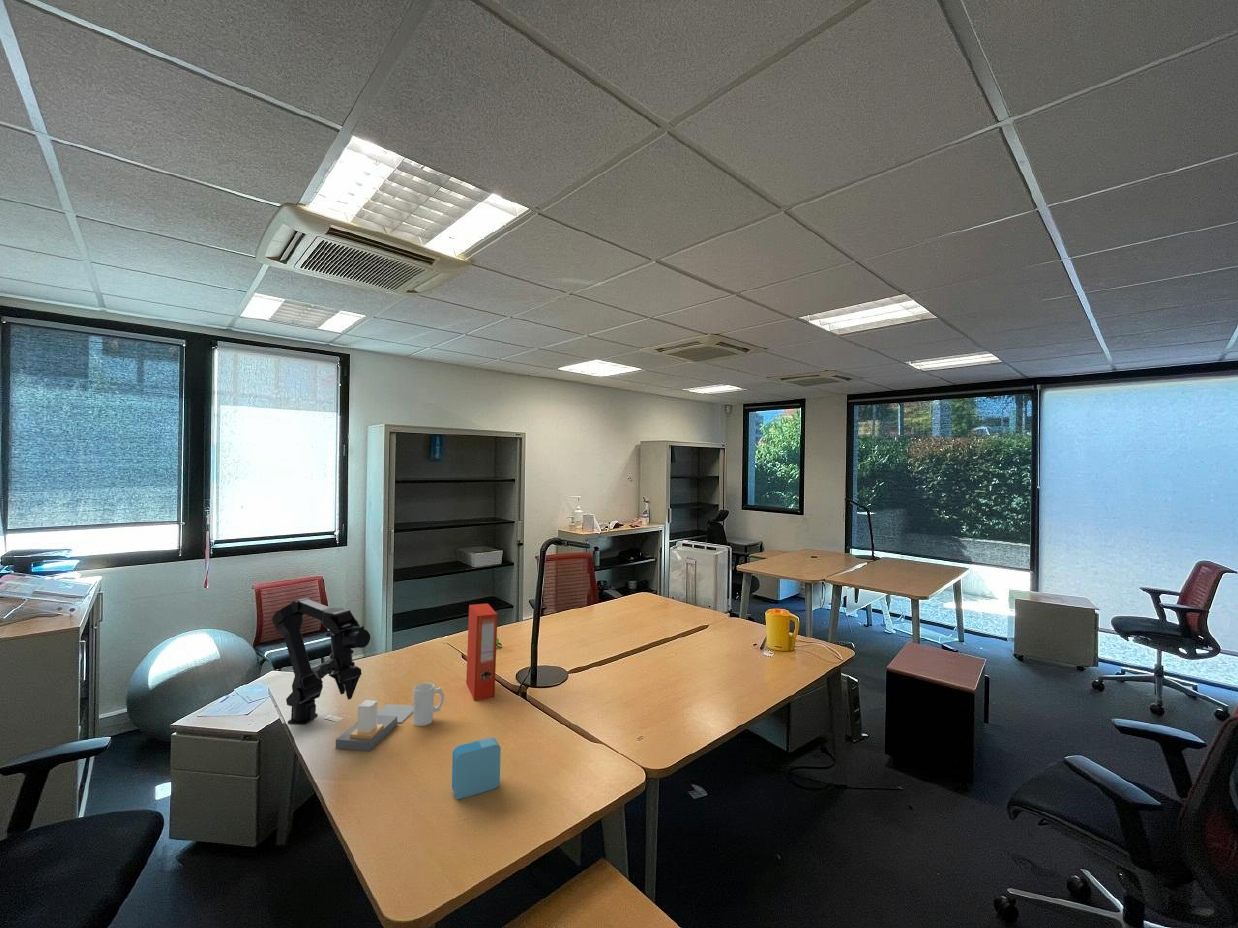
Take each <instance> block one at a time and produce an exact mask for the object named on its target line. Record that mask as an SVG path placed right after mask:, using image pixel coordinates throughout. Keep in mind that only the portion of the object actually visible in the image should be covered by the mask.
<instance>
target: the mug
mask: <svg viewBox="0 0 1238 928" xmlns="http://www.w3.org/2000/svg"><path fill="white" fill-rule="evenodd" d="M435 686H436V685H435V684H434V683H432V682H422V683H419V684H417V685H415V686H414V687H413V713H412V714H413V717H412V718H413V720H412V721H413V722H412V724H413V725H414V726H417V727H423V726H428V725H429V724H431V723H432V722H433V720H434V714H435V713H436V712H441V708H442V706H443V704H444V700H445V694H444V692H443V690H442V687H437V688H435ZM435 694H439V696H440V702H439V704H438V705H437V706H434V702H435Z"/></svg>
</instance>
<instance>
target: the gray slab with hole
mask: <svg viewBox="0 0 1238 928" xmlns="http://www.w3.org/2000/svg"><path fill="white" fill-rule="evenodd" d="M377 724H384V728H383V729H382V730H380V731H379V732H378V733H377V734H376V735H375V736H374V737H373V738H372V739H363V738H350V734H351V733H352V732H353V731H354V730H356V729H357V728H358V721H357V722H356V723H354V724H353V725H352V726H350V728H349V729H347V730H346V731H345V732H344V733H342V734H341V735H339V737H337V738H336V739H335V749H336V750H348V751H361V752H362V751H364V752H365V751H366V752H370V751H372V749H373V748H375V747H376V746H377V744H379V743H380V742H381V741H382V740H383V739H384V738H385V737H386V736H387V735H388V734H389V733H390V732H392V730H393V729H395V728H396V726H398V723H397V716H383V715H377Z"/></svg>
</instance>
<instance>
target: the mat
mask: <svg viewBox="0 0 1238 928" xmlns="http://www.w3.org/2000/svg"><path fill="white" fill-rule="evenodd" d="M412 714H413V705H411V704H392V703H391V704H389V703H387V704H385V705H384V706H383V707H382V708H381V709H379V710H377V715H383V716H397V724H403V723H404V722H405V721H406V720H407V719H408V718H409V717H410V716H411V715H412Z"/></svg>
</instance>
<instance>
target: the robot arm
mask: <svg viewBox="0 0 1238 928" xmlns="http://www.w3.org/2000/svg"><path fill="white" fill-rule="evenodd" d="M303 616H308V617H311V618H313V619H316V620H318V621H321V624H322V626H323V627H325V629H327V630H329V631H328V632H326V635H325V637H329V638H330V645H331V653H330V654H329V659H327V660H325V661H323V662H322V663H320V664H318V665H317V666H315V667H314V668H312V667H311V664H310V660H309V656H308V652H307V647H306V645H305V643H304V642H305V641H304V638H303V635H302V632H301V629H302V625H303V623H304V617H303ZM271 621H272V623H273V624H274V629H275V630H276V631H277V632H279V634H281V635H282V636H283V638H284V642H285V645H286V649H287V651H288V657H289V660H290V663H291V667H292V670H293V675H294V678H293V681H292V683H291V690H292V692H291V693H290V694H289V695H288V697H286V699H285V702H286V705H287V706H288V707H291V714H290V718H291V719H289V720H287V724H296V725H306V724H308V722H310V721H311V720H313V719H314V718H316V717H317V716H318V713H316V712H317V708H316V707H317V705H316V699H319V698H320V696H321V694H322V690H323V687H324V685H323V682H324V681H323V678H324V677H326V676H327V675H328V676H329V677H330V678H332V679H334V681H335V684H336V686H337V688H338V692H339V694H340V695H344V694H346V698H347V700H352V698H353V696H354V694H355V690H356V688H357V684H358V681H359V680H360V678H361V675H362V669H361V667H359V666H358V665H355V662H354V661H353V654H354V649H363V648H366V647H367V646H368V645H369V644H370V641H371V634H370V632H369V630H367V629H365V626H364V625H360V624H359V621H358V620H357V619H356V618H355V617H354V615H353V613H352V611H351V610H350V609H349V608H342V607H330V606H327V605H324V604H323V603H319V602H318V601H317V602H316V601H314V600H311V599H310V597H302V598H300V599H299V598H298V599H295V600H294V601H292V602H291V603H290V604H287V605H286V606H284V607H282V608H281V609H279V610H276V611H275V612H274V614H273V616H272V618H271Z"/></svg>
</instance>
